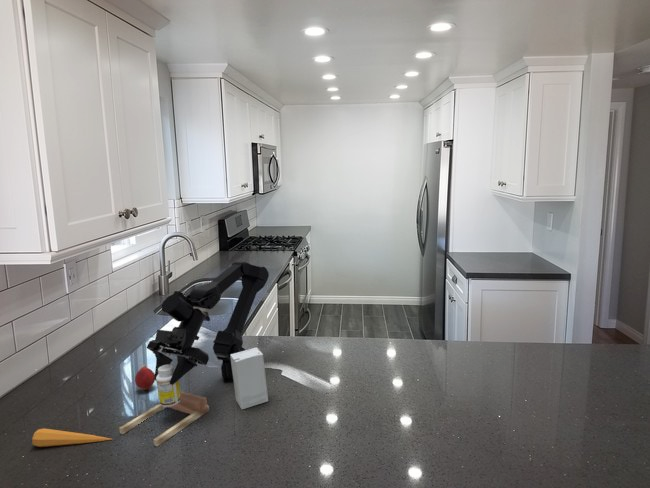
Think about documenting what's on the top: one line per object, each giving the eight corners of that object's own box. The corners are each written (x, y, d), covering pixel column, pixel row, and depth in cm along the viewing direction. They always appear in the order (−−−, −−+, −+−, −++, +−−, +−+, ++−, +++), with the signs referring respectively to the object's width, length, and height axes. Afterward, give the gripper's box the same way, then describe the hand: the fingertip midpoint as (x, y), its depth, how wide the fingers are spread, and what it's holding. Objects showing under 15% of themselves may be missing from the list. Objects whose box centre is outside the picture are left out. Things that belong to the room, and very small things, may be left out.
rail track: (173, 400, 134) (171, 387, 134) (209, 410, 127) (207, 397, 127) (119, 433, 119) (117, 418, 118) (157, 446, 112) (155, 431, 111)
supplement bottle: (174, 395, 128) (169, 361, 126) (185, 400, 124) (180, 365, 123) (155, 404, 124) (150, 368, 122) (166, 410, 120) (161, 373, 118)
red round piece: (149, 394, 139) (146, 370, 138) (132, 394, 140) (129, 369, 139) (160, 385, 144) (156, 361, 143) (143, 385, 146) (140, 361, 144)
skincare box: (262, 393, 135) (257, 346, 132) (269, 402, 129) (264, 353, 127) (234, 401, 131) (229, 352, 129) (240, 411, 126) (234, 360, 123)
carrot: (32, 451, 115) (26, 440, 112) (41, 435, 119) (36, 424, 116) (112, 452, 115) (108, 441, 113) (119, 436, 119) (115, 425, 117)
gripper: (147, 312, 128) (118, 365, 121) (195, 319, 119) (168, 377, 111) (172, 329, 136) (147, 380, 129) (219, 337, 127) (195, 392, 119)
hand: (163, 382), depth 122 cm, fingers closed on supplement bottle, 6 cm apart
